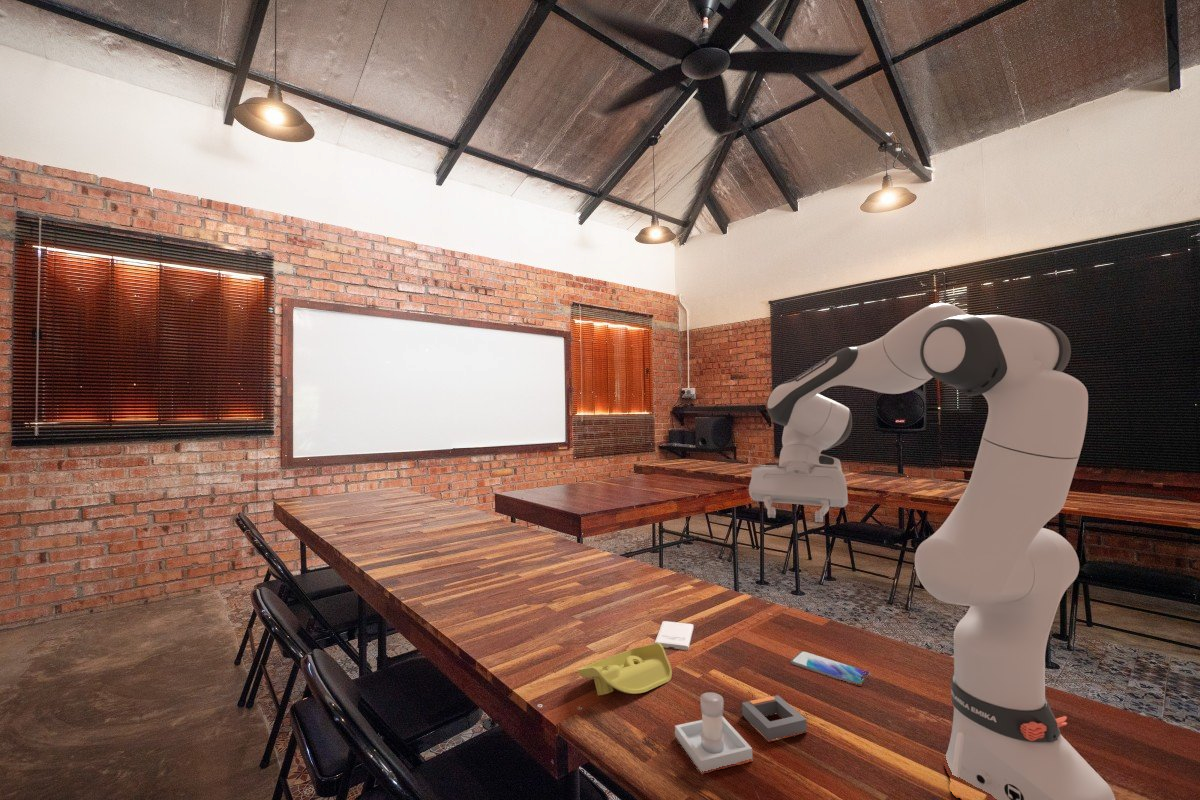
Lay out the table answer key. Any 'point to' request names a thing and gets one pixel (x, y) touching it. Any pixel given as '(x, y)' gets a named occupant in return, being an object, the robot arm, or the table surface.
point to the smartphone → (829, 667)
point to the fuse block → (777, 728)
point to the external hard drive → (675, 635)
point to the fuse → (712, 723)
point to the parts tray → (732, 753)
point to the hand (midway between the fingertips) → (794, 518)
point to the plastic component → (630, 670)
